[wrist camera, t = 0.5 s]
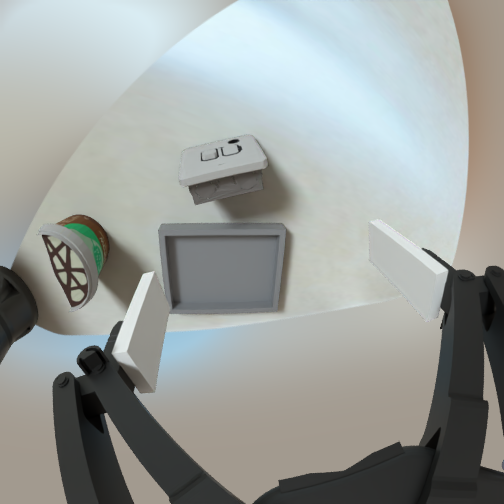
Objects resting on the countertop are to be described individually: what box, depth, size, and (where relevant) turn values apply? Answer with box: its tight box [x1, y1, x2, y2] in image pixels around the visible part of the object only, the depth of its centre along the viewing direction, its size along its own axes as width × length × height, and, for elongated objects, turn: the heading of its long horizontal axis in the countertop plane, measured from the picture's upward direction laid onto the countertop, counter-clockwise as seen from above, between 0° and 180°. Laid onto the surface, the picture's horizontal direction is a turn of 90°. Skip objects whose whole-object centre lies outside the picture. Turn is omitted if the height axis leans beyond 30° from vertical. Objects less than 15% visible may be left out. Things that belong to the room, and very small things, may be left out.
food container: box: [37, 215, 109, 312], centre depth 32 cm, size 12×6×10 cm, turn 7°
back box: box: [158, 223, 286, 314], centre depth 40 cm, size 17×14×2 cm
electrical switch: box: [178, 135, 268, 205], centre depth 31 cm, size 9×5×9 cm, turn 101°
